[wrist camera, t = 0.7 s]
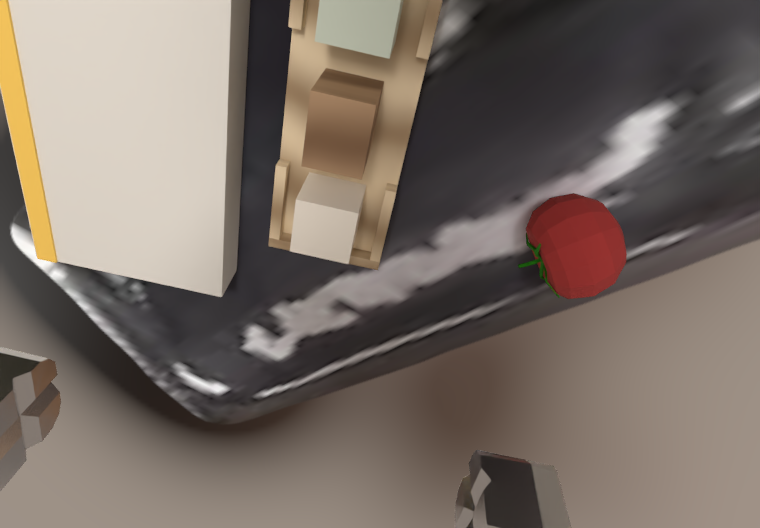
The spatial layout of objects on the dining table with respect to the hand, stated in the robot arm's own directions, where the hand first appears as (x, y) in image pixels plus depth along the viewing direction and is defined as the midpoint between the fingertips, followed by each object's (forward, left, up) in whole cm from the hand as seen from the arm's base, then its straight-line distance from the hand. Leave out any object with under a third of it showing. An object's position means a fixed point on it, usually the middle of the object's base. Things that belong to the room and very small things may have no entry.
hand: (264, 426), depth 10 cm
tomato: (+11, +16, -33) cm, 38 cm away
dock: (+8, -18, -32) cm, 38 cm away
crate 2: (+12, -2, -30) cm, 32 cm away
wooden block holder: (+5, -2, -33) cm, 33 cm away
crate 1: (-3, -2, -30) cm, 30 cm away
